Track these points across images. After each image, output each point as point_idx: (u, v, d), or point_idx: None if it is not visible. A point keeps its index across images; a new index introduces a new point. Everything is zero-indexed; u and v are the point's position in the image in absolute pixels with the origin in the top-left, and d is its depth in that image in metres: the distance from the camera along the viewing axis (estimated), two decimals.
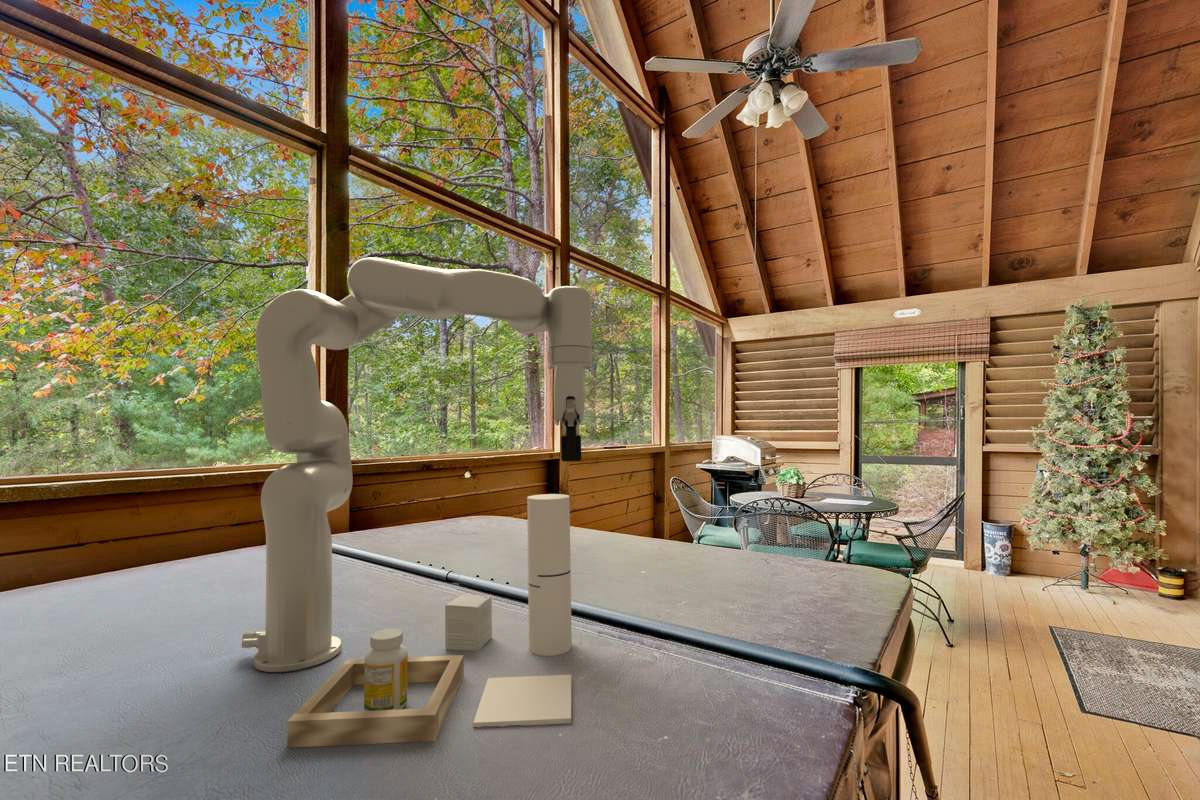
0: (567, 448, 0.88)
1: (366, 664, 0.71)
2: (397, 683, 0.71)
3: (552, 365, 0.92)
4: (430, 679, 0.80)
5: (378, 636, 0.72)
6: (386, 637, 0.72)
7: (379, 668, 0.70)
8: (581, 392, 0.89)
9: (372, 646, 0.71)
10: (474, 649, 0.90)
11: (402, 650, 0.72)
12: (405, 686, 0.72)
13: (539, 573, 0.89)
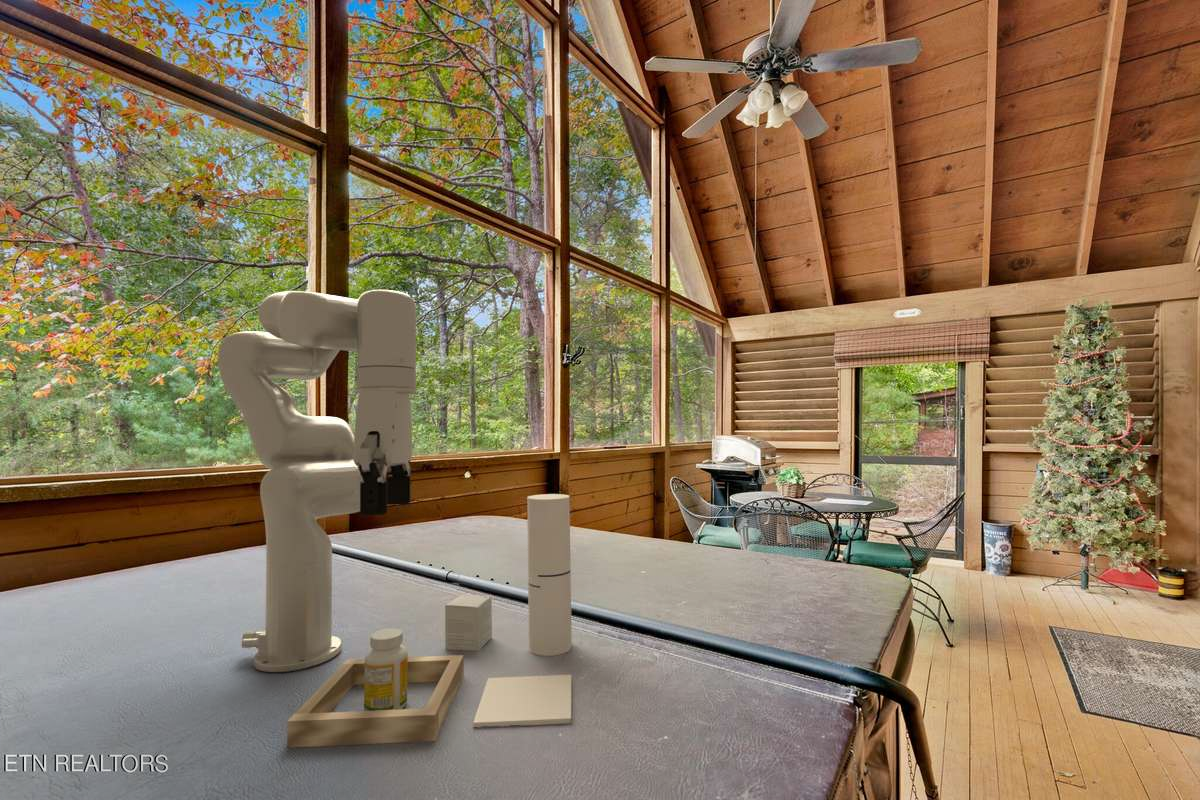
0: (366, 499, 0.68)
1: (366, 664, 0.71)
2: (397, 683, 0.71)
3: (358, 390, 0.72)
4: (430, 679, 0.80)
5: (378, 636, 0.72)
6: (386, 637, 0.72)
7: (379, 668, 0.70)
8: (389, 426, 0.70)
9: (372, 646, 0.71)
10: (474, 649, 0.90)
11: (402, 650, 0.72)
12: (405, 686, 0.72)
13: (539, 573, 0.89)
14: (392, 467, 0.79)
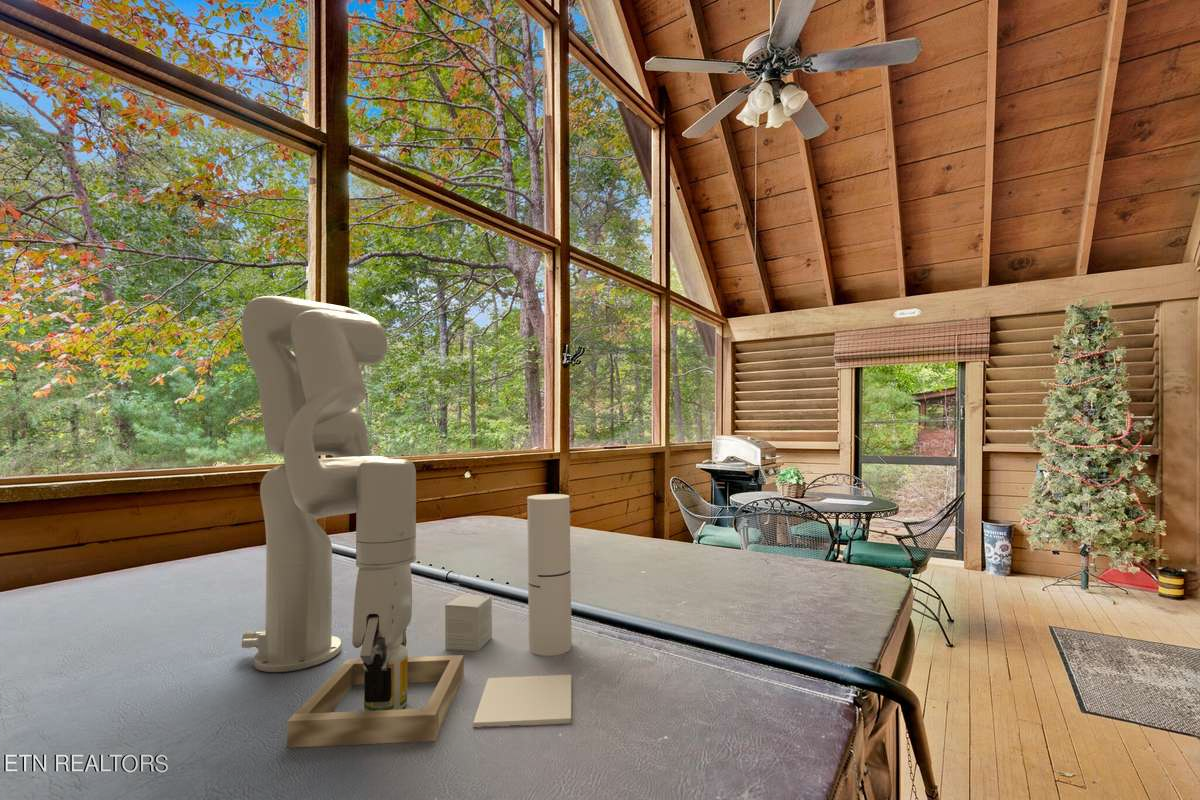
0: (370, 687, 0.69)
1: None
2: (397, 683, 0.71)
3: (357, 565, 0.71)
4: (430, 679, 0.80)
5: None
6: None
7: None
8: (388, 607, 0.69)
9: None
10: (474, 649, 0.90)
11: (402, 650, 0.72)
12: (405, 686, 0.72)
13: (539, 573, 0.89)
14: None
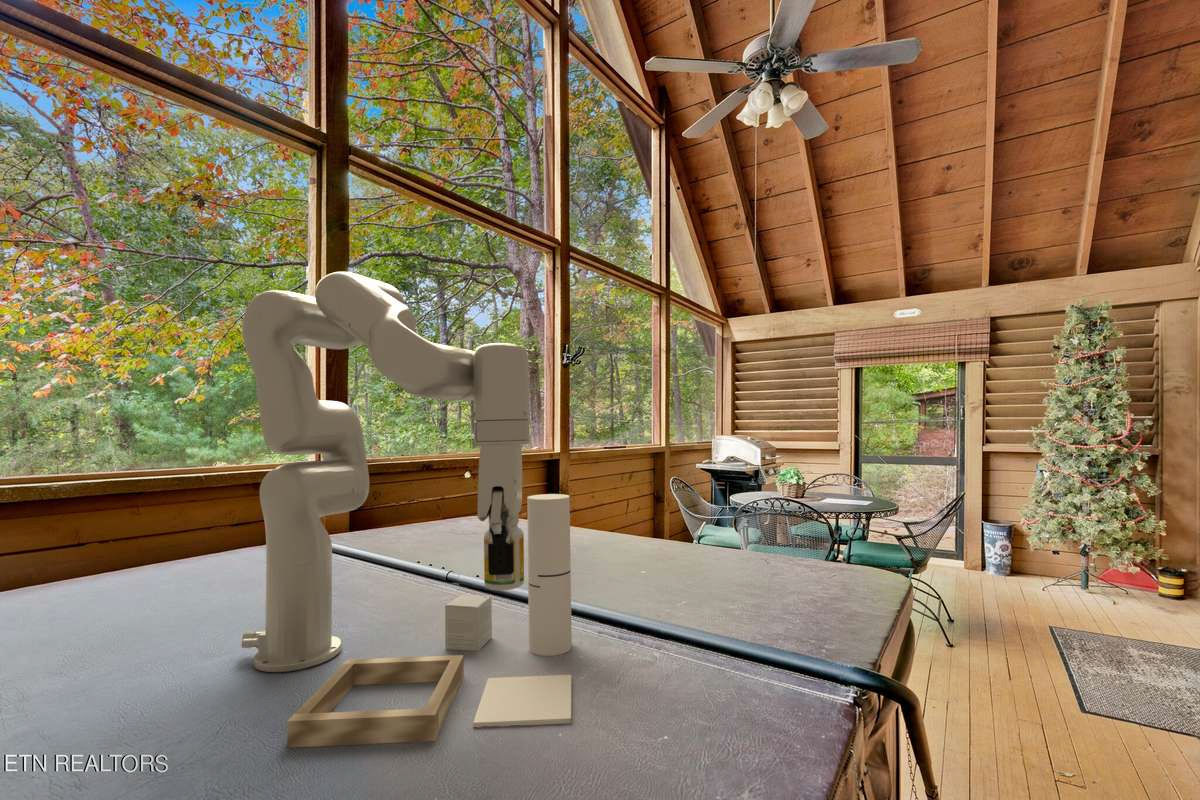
0: (495, 559, 0.70)
1: (487, 540, 0.72)
2: (517, 559, 0.72)
3: (477, 444, 0.73)
4: (430, 679, 0.80)
5: None
6: (505, 515, 0.73)
7: None
8: (512, 480, 0.70)
9: None
10: (474, 649, 0.90)
11: (519, 529, 0.74)
12: (523, 564, 0.74)
13: (539, 573, 0.89)
14: None
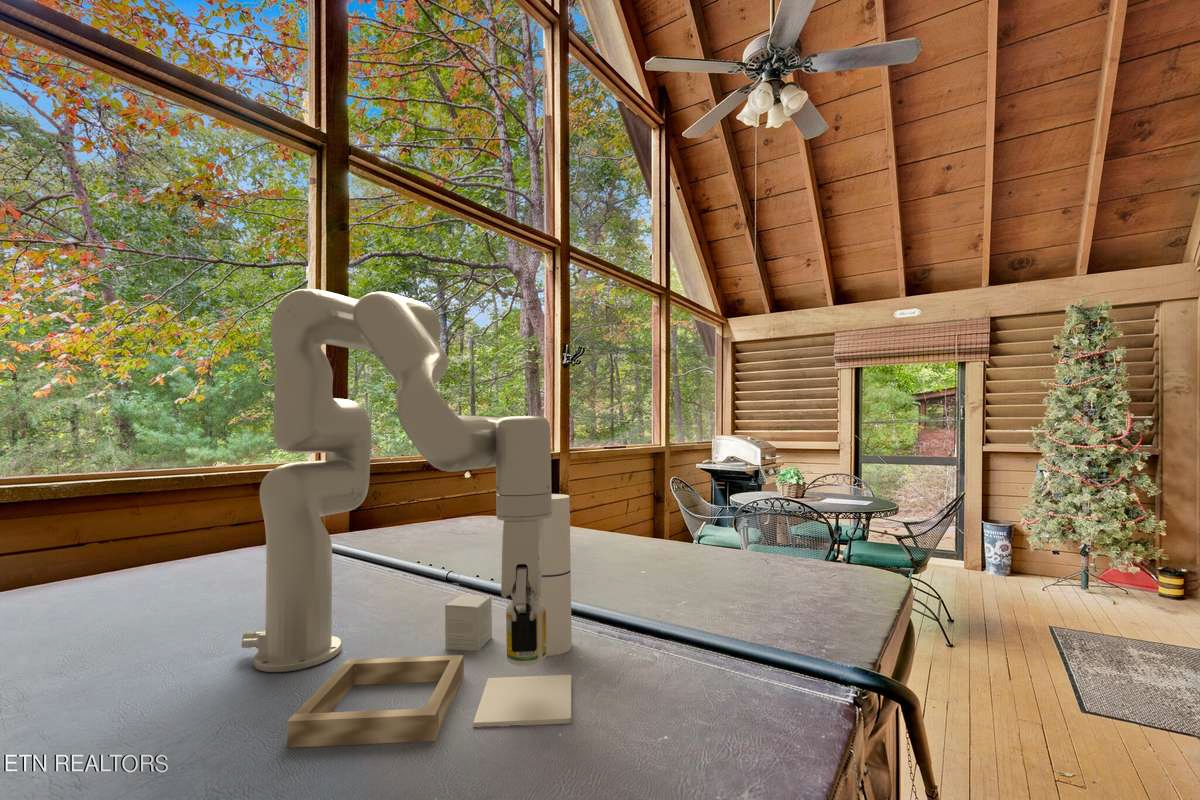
0: (518, 637, 0.70)
1: (510, 615, 0.72)
2: (540, 634, 0.72)
3: (500, 518, 0.72)
4: (430, 679, 0.80)
5: None
6: None
7: None
8: (536, 558, 0.70)
9: None
10: (474, 649, 0.90)
11: (541, 602, 0.74)
12: (545, 638, 0.74)
13: None
14: None
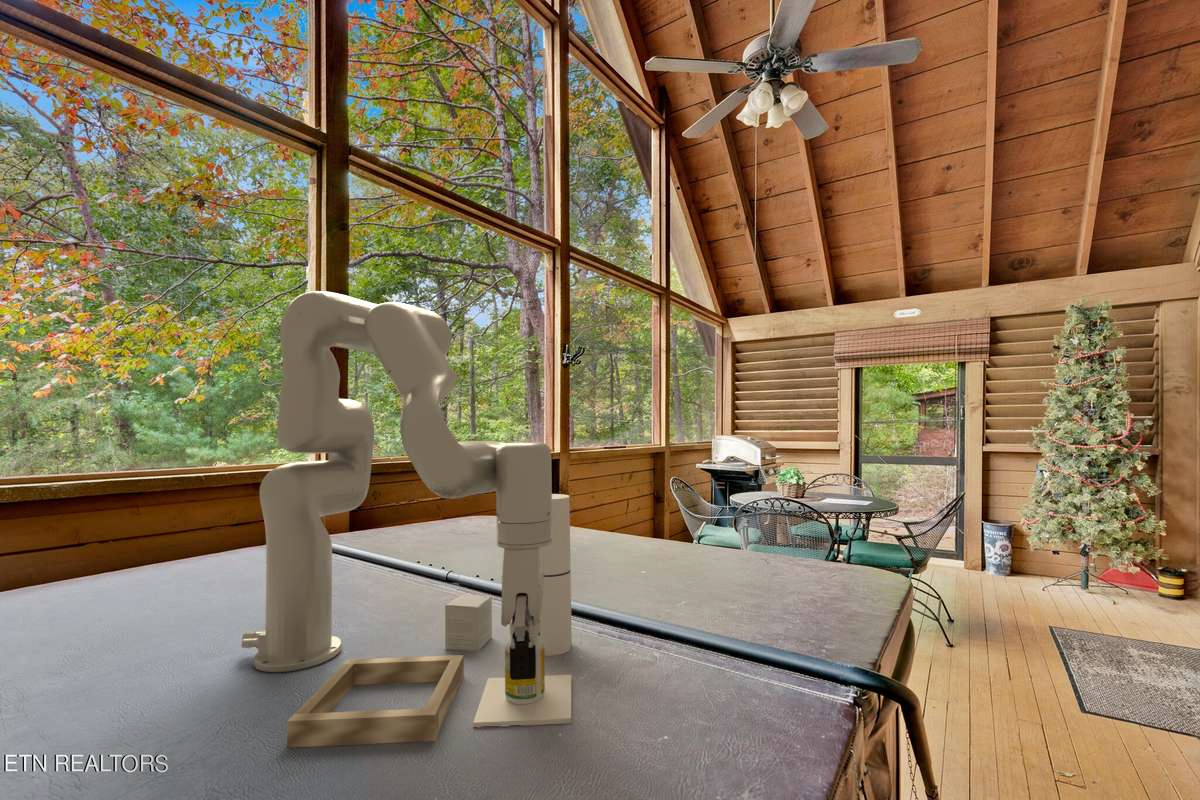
0: (517, 664, 0.68)
1: (508, 653, 0.72)
2: (539, 671, 0.72)
3: (500, 545, 0.72)
4: (430, 679, 0.80)
5: None
6: None
7: None
8: (536, 586, 0.70)
9: None
10: (474, 649, 0.90)
11: (540, 639, 0.74)
12: (544, 675, 0.74)
13: None
14: None
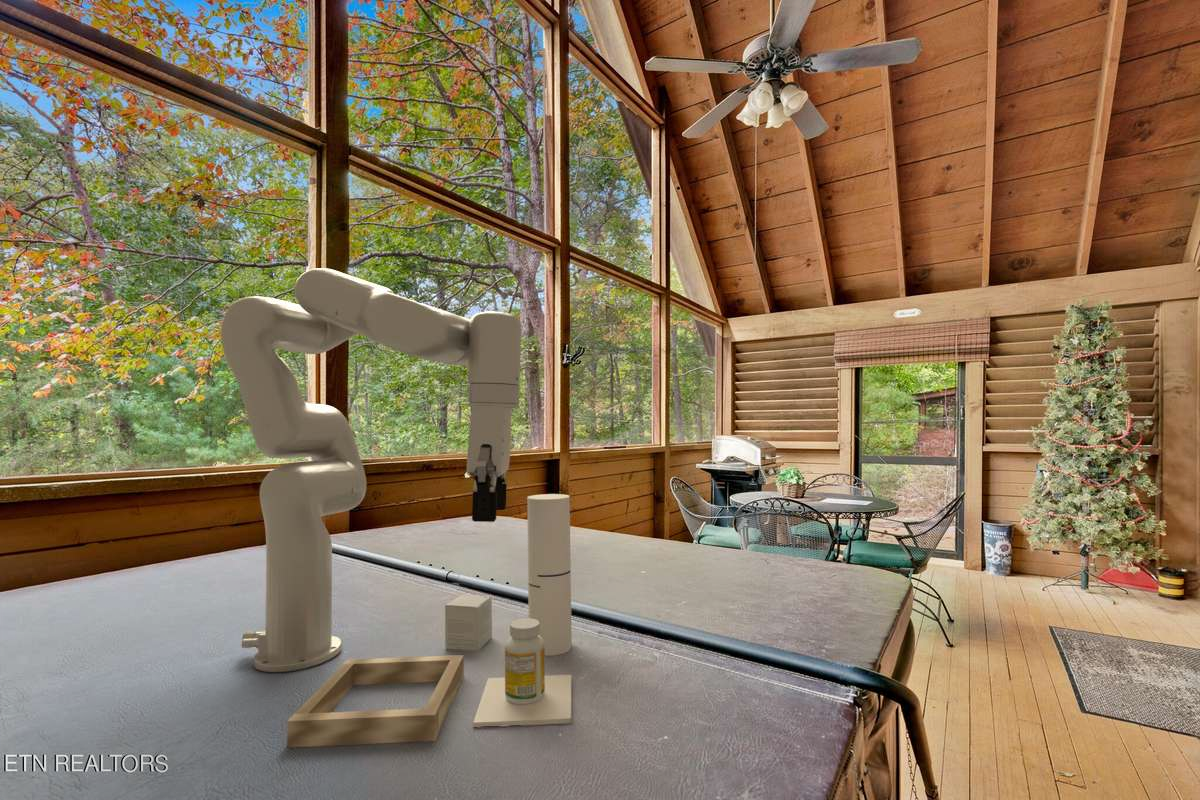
0: (478, 506, 0.74)
1: (508, 653, 0.72)
2: (539, 671, 0.72)
3: (470, 405, 0.78)
4: (430, 679, 0.80)
5: (518, 625, 0.73)
6: (527, 626, 0.73)
7: (522, 657, 0.71)
8: (500, 439, 0.75)
9: (513, 635, 0.73)
10: (474, 649, 0.90)
11: (540, 640, 0.74)
12: (544, 675, 0.74)
13: (539, 573, 0.89)
14: None
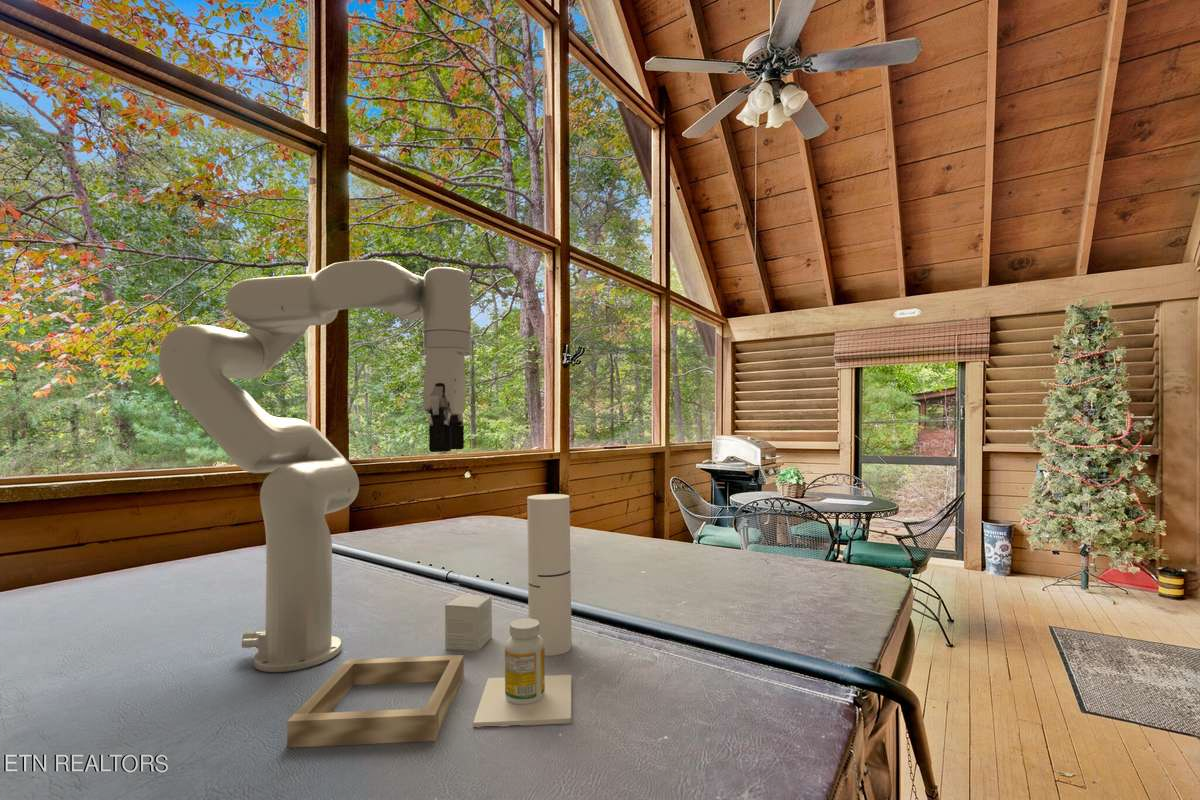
0: (434, 438, 0.83)
1: (508, 653, 0.72)
2: (539, 671, 0.72)
3: (425, 351, 0.87)
4: (430, 679, 0.80)
5: (518, 625, 0.73)
6: (527, 626, 0.73)
7: (522, 657, 0.71)
8: (452, 379, 0.84)
9: (513, 635, 0.73)
10: (474, 649, 0.90)
11: (540, 639, 0.74)
12: (544, 675, 0.74)
13: (539, 573, 0.89)
14: None
